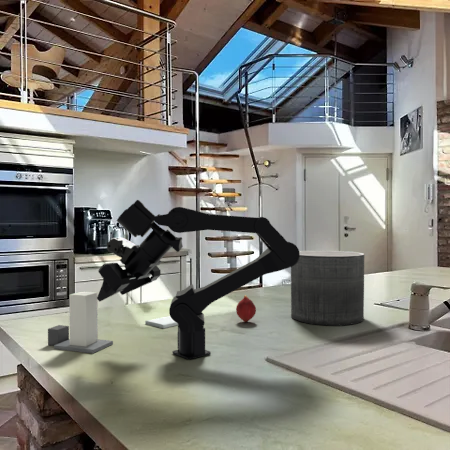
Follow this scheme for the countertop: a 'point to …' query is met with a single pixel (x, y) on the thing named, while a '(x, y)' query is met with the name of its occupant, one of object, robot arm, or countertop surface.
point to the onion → (246, 309)
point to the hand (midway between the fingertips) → (110, 296)
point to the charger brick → (83, 318)
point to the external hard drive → (162, 322)
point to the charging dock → (61, 340)
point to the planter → (328, 288)
